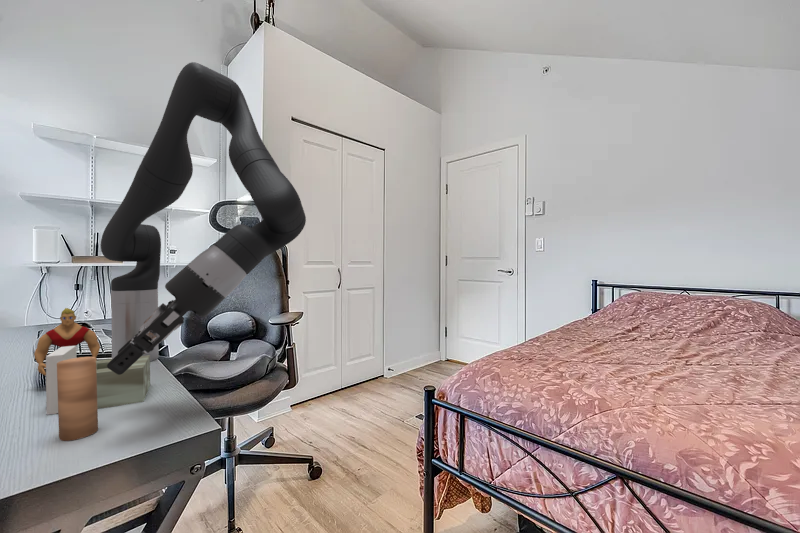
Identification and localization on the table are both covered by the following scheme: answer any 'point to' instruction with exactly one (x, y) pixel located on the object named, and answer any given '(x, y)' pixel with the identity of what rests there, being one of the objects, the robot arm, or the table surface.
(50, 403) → the backstop wall
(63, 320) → the action figure
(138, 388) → the socket block
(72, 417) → the dowel
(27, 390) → the table surface
